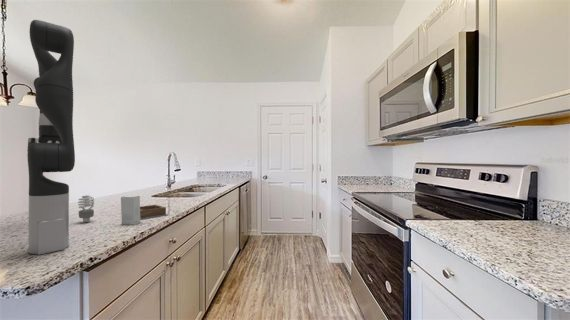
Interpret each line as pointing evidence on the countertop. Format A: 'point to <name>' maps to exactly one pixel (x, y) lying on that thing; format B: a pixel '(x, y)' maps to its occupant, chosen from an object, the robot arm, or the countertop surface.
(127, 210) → the skincare box
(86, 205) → the light bulb
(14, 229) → the countertop surface
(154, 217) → the mat
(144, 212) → the brown wooden tray
